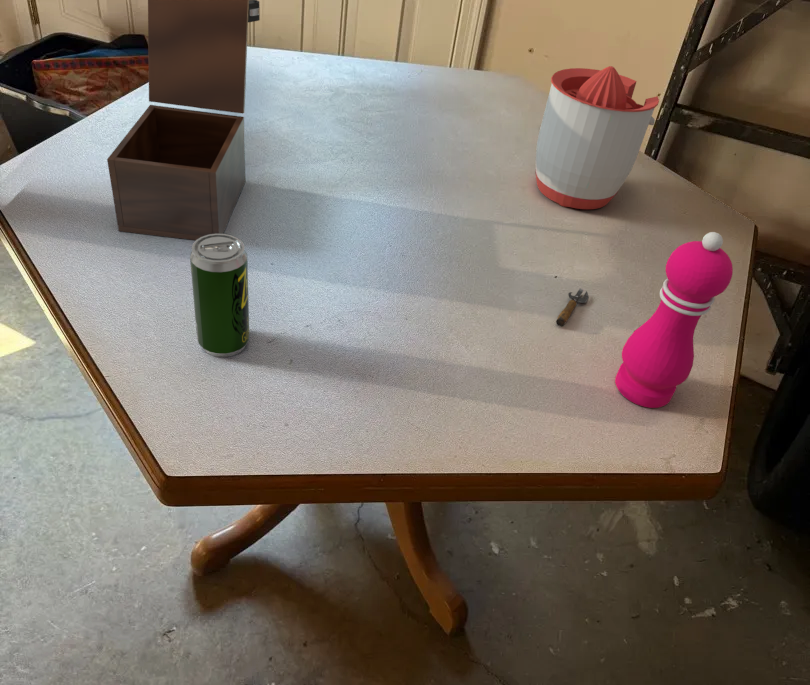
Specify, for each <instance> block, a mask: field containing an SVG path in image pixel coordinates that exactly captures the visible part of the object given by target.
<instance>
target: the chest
mask: <svg viewBox="0 0 810 685" xmlns="http://www.w3.org/2000/svg"><path fill="white" fill-rule="evenodd" d="M245 139H246V138H245V117H244V116H239V115H233V114H225V113H217V112H210V111H209V112H208V111H202V110H195V109H185V108H178V107H170V106H163V105H156V104H149V105H148V107H147V108H146V109H145V110H144V112H143V113H142V114H141V116H140V117H139V118H138V119H137V121H136V122H135V123H134V124H133V126H132V127H131V128H130V129H129V131H128V132H127V133H126V134H125V136H124V137H123V138H122V140H121V141H120V142H119V144H118V145H117V146H116V147H115V148H114V149H113V151H112V153H111V154H110V155H109V156H108V158H107V159H106V161H107V168H108V174H109V179H110V187H111V192H112V200H113V205H114V210H115V217H116V224H117V229H118V232H121V233H122V232H123V233H124V232H125V233H131V234H139V235H140V234H141V235H149V236H156V237H163V238H175V239H180V240H181V239H182V240H191V241H196V240H197V239H199V238H200V237H203V236H206V235H209V234H225V231H226V229H227V227H228V224H229V222H230V220H231V217H232V215H233V212H234V210H235V209H236V208H235V207H236V205H237V203H238V201H239V198H240V196H241V193H242V191H243V189H244V186H245V184H246V144H245V143H246V142H245Z"/></svg>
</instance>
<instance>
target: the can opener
mask: <svg viewBox="0 0 810 685" xmlns="http://www.w3.org/2000/svg"><path fill="white" fill-rule="evenodd" d="M583 292H584V289H582V288H579V289H578V290H577V292H576V294H575V295H572V294H573V292H571V291H570V292H568V294H567V295H568V298H569V299H570V300H569V301H568V302H567V303H566V306H565V307H564V308H563V309H562V311H561V312H560V313H559V315H558V316H557V318H556V321H555V323H556V325H557V326H558V327H562V326H564V325H565V324H566V323H567V322H568V320H569V319H570V317H571V316H572V315H571V314H572V313H573V311H574V310H575V308H576V307H577V305H578V304H577V303H579V304H585V303H586V302H588V300H589V293H588V291H587V290H586V291H585V293H583ZM582 294H584V295H583V296H581V295H582Z"/></svg>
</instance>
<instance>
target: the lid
mask: <svg viewBox="0 0 810 685" xmlns="http://www.w3.org/2000/svg"><path fill="white" fill-rule="evenodd" d="M248 9H249V0H147V41H148V42H147V44H148V52H147V53H148V54H147V55H148V57H147V58H148V102H151V103H157V104H165V105H172V106H173V105H174V106H180V107H181V106H182V107H188V108H198V109H202V110H203V109H204V110H205V109H206V110H212V111H219V112H227V113H234V114H245V113H246V112H245V110H246V85H247V84H246V83H247V60H248V59H247V58H248V57H247V56H248V31H249V30H248V29H249V23H248Z"/></svg>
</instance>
